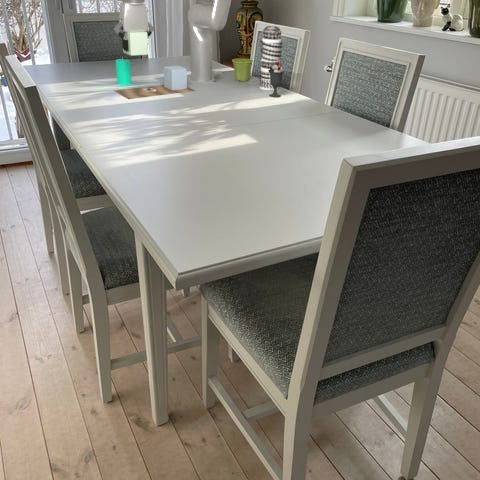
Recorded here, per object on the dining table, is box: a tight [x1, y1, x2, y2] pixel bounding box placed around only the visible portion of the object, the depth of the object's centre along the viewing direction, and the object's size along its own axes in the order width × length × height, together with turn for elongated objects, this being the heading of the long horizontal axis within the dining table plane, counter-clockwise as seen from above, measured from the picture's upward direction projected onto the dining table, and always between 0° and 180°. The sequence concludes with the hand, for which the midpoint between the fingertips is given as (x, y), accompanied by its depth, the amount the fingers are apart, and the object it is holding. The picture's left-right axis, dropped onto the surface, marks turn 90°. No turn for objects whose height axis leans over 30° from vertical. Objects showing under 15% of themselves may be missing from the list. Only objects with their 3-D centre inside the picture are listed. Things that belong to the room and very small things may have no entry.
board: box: [113, 84, 197, 100], centre depth 210 cm, size 30×15×2 cm, turn 124°
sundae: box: [268, 57, 285, 98], centre depth 209 cm, size 7×7×15 cm
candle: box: [115, 56, 132, 86], centre depth 216 cm, size 6×6×12 cm
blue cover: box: [163, 65, 188, 90], centre depth 213 cm, size 7×7×8 cm
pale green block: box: [121, 31, 149, 56], centre depth 196 cm, size 7×7×8 cm
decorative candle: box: [258, 25, 283, 91], centre depth 218 cm, size 9×9×25 cm
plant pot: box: [231, 58, 254, 82], centre depth 234 cm, size 9×9×9 cm
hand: (135, 49), depth 197 cm, fingers closed on pale green block, 7 cm apart
